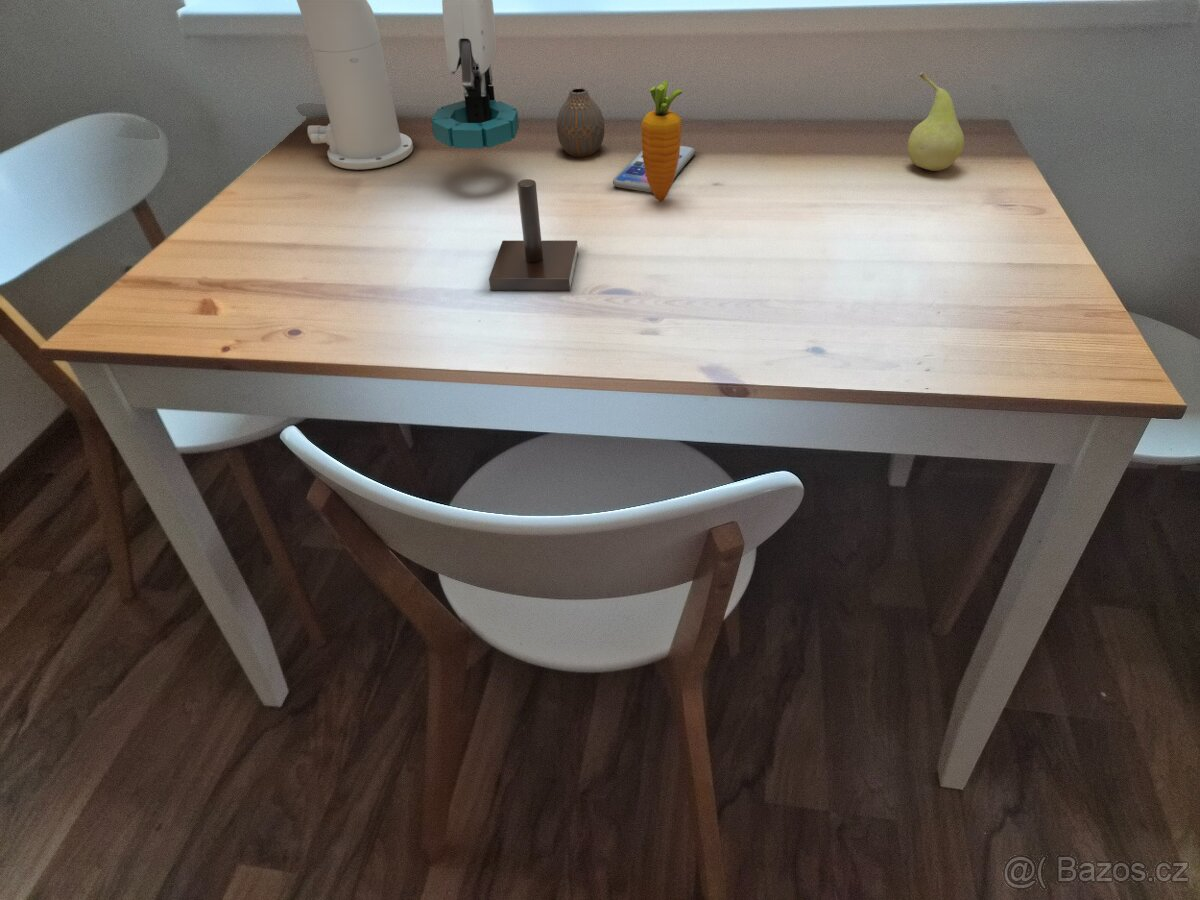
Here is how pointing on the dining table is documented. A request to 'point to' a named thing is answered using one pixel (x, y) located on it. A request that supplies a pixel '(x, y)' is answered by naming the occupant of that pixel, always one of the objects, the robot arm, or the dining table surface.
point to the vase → (580, 124)
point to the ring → (474, 126)
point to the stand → (533, 253)
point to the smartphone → (636, 175)
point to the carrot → (661, 142)
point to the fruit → (936, 134)
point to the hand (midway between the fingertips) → (482, 119)
